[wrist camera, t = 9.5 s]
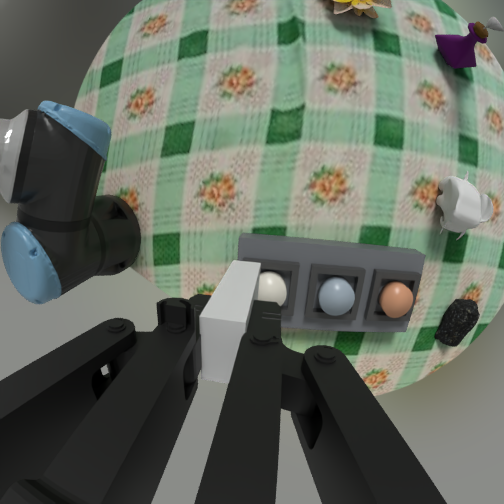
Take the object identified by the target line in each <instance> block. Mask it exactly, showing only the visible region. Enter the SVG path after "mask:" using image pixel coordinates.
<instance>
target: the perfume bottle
mask: <svg viewBox="0 0 504 504" xmlns="http://www.w3.org/2000/svg"><path fill="white" fill-rule="evenodd" d="M486 28H490V29H493V30H497V31H504V29H503V27H502V26H501V24H500V23H499V21H498V20H497V19H496V18H495V17H491V18H490V19H489V20H488V22H487V26H486V27H485V26H484V25H483V24H481V23H480V22H476V23H475V24H474V23H469V24H468V29H469V32H470V33H469V34H468V35H467V36H464V37H463V36H460V35H435V38H436V42H437V46H438V49H439V51H440V52H441V54H442V56H443V58H444V59H445V61H446V63H447V65H449V66H451V67H453V68H466V67H476V59H475V52H474V46H475V44H476V42H477V41H478V42H480V43H482V44H483V43H486V42H487V38H486V37H488V32H487V30H486Z"/></svg>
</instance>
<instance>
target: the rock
mask: <svg viewBox="0 0 504 504" xmlns="http://www.w3.org/2000/svg"><path fill="white" fill-rule="evenodd" d="M479 316H480V314H479V312H478V306H477V304H476V303H475V301H473V300H471V299H468V300H464V299H456V300H455V301H454V302H453V303H452V304H451V305H450V307H449V309H448V310H447V311H446V312H445V314H444V316H443V319H442V323H441V325H440V326H439V329H438V330H437V332H436V334H435V338H436V339H439V340H440V341H441V342H442V343H443V344H446V345H449V346H452V347H453V346H457V345H458V344H459V343H460V342H461V341H462V340H463V338H464V337H465V336H466V335H467V333H468V332H469V331H471V330H472V328H473V327H474V326H475V325H476V323H477V321H478V318H479Z"/></svg>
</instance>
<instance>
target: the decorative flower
mask: <svg viewBox="0 0 504 504" xmlns="http://www.w3.org/2000/svg"><path fill="white" fill-rule="evenodd" d="M333 1H335V4H334V14H339V13H343V12H345V11H348V10H350V9H352V8H353V10H354V12H355V14H356V15H357V16H360V15H361V14H362V12H363V11H364V13H365V14H366V15H368V16H369V17H371V18H378V15H377V13H376V11H375V10H374V8H373V7H372V5H374V6H379V7H385V8H391V7H392V6H391V1H390V0H333Z"/></svg>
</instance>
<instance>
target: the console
mask: <svg viewBox="0 0 504 504" xmlns="http://www.w3.org/2000/svg"><path fill="white" fill-rule="evenodd" d="M424 260H425V255H424V254H423V253H421V252H419V251H417V250H416V249H408V248H399V247H390V246H380V245H371V244H361V243H351V242H341V241H331V240H320V239H310V238H299V237H287V236H276V235H264V234H252V233H242V234H241V236H240V237H239V243H238V261H247V262H257V263H261V268H260V273H261V272H264V271H273V272H276V273H278V274H280V275H281V276H282V277H283V278H284V280H285V282H286V292H287V294H286V299H285V301H284V303H283V304H282V305H281V306H280V307H281V327H286V328H299V329H314V330H331V331H356V332H406V330H407V327H408V323H409V321H410V317H411V314H412V311H413V307H414V303H415V300H416V296H417V292H418V288H419V284H420V280H421V275H422V270H423V265H424ZM330 277H342V278H344V279H345V280H347V282H348V283H349V284H350V286H351V288H352V289H353V291H354V294H355V300H354V304H353V306H352V307H351V309H350V310H349V311H347V312H346V313H344V314H342V315H337V316H334V315H329V314H327V313H326V312H324V311H323V309H322V308H321V305H320V302H319V298H318V289H319V287H320V285H321V284H322V283H323V282H324V281H325V280H326V279H328V278H330ZM392 281H399V282H402V283H403V284H404V285H405V286H406V287H407V288H408V289H409V290H410V291H411V292H412V294H413V303H412V306H411V308H410V309H409V311H408V312H407V313H406V314H405V315H403V316H401V317H398V318H392V317H389V316H388V315H386V313H385V312H384V310H383V309H382V308H381V306H380V304H379V300H378V299H379V294H380V291H381V290H382V288H383V287H384V286H385V285H386V284H388V283H389V282H392Z"/></svg>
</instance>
